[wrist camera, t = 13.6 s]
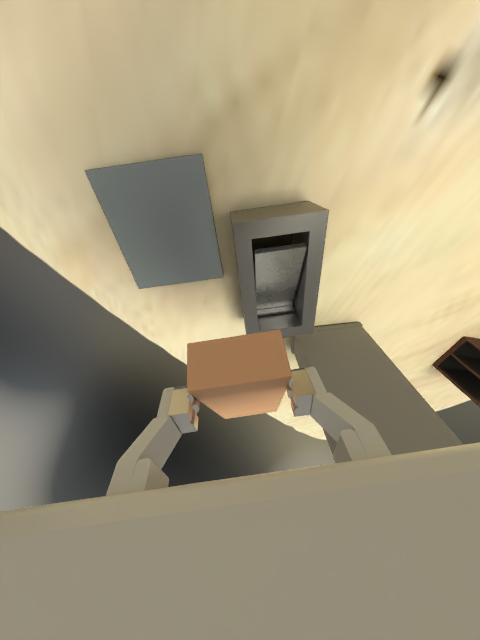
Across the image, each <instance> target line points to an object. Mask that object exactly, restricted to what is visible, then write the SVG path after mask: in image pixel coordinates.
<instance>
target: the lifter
mask: <svg viewBox="0 0 480 640" xmlns="http://www.w3.org/2000/svg"><path fill="white" fill-rule="evenodd" d="M306 248H307V246H306V244H305V243H299V244H292V245H284V246H277V247H270V248H263V249H256V250H254V262H255V292H256V304H257V309H260V310H257V316H263V315H270V314H278V313H285V312H292V311H294V308H293V301H294V297H295V293H296V289H297V285H298V281H299V277H300V272H301V268H302V264H303V260H304V256H305V252H306ZM287 305H289V306H287ZM279 306H282V307H279ZM272 307H274V308H272ZM265 308H267V309H265Z"/></svg>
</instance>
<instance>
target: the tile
mask: <svg viewBox="0 0 480 640" xmlns="http://www.w3.org/2000/svg"><path fill="white" fill-rule="evenodd" d="M291 378H292V373H291V369H290V365H289V362H288V358H287V354H286V350H285V346H284V342H283V338H282V334H281V330H274V331H268V332H261V333H255V334H248V335H241V336H235V337H228V338H222V339H215V340H209V341H202V342H195V343H189V344H187V392H188V393H190V394H191V395H192V396H194V397H195V398H197V399H198V400H199V401H201V402H202V403H204V404H205V405H206V406H208V407H209V408H211V409H212V410H213V411H215V412H216V413H218V414H219V415H220V416H222V417H224V418H225V419H227V418H233V417H240V416H247V415H254V414H261V413H268V412H275V411H277V409H278V407H279V405H280V402H281V400H282V398H283V396H284V393H285V391H286V387H287V385H288V382H289V381H290V380H291Z"/></svg>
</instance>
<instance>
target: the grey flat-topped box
mask: <svg viewBox="0 0 480 640" xmlns="http://www.w3.org/2000/svg"><path fill="white" fill-rule="evenodd" d="M291 351H292V353H294V355H295V357H296V360H297V362H298V365H299V368H307V367H315V368H316V371H317V373H318V375H319V377H320V379H321V381H322V383H323V385H324V387H325V389H326V391H327V393H331V394H333V395H334V396H335V397H337V398H338V399H340V400H341V401H342V402H344V403H345V404H346V405H348V406H349V407H351V408H352V409H353V410H355V411H356V412H357V413H359V414H360V415H361V416H363V417H364V418H366V419H367V420H368V421H370V422H371V423H372V424H374V426H375V427H376V429H377V431H378V432H379V434H380V436H381V437H382V439H383V441H384V442H385V444H386V446H387V448H388V449H389V451H390V453H391V454H392V455H397V454H404V453H411V452H418V451H425V450H432V449H439V448H446V447H453V446H460V445H463V444H462V443H461V442H460V440H459V439H458V438H457V437H456V436H455V435H454V433H453V432H452V431H451V430H450V429H449V428H448V426H447V425H446V424H445V423H444V422H443V420H442V419H441V418H440V417H439V416H438V415H437V414H436V413H435V411H434V410H433V409H432V408H431V406H430V405H429V404H428V403H427V402H426V401H425V399H424V398H423V397H422V396H421V395H420V394H419V392H418V391H417V390H416V389H415V388H414V387H413V385H412V384H411V383H410V382H409V381H408V380H407V378H406V377H405V376H404V375H403V374H402V373H401V371H400V370H399V369H398V368H397V367H396V366H395V364H394V363H393V362H392V361H391V360H390V359H389V357H388V356H387V355H386V354H385V353H384V352H383V350H382V349H381V348H380V347H379V346H378V345H377V343H376V342H375V341H374V340H373V339H372V338H371V336H370V335H369V334H368V333H367V332H366V331H365V329H364V328H363V327H362V324H361V323H360V322H355V323H346V324H337V325H328V326H319V327H314V330H313V334H306V335H299V336H292V343H291ZM323 430H324V429H323ZM324 433H325V436H326V438H327V441H328V443H329V446H330V449H331V451H332V454H333V452H334V450H335V447H336V444H337V442H336V441H335V440H334V439H333V438H332V437H331V436H330V435H329V434H328V433H327V432H326V431H325V430H324Z"/></svg>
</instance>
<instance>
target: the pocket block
mask: <svg viewBox="0 0 480 640" xmlns="http://www.w3.org/2000/svg"><path fill="white" fill-rule="evenodd" d="M230 214H231V222H232V229H233V237H234V245H235V253H236V261H237V268H238V276H239V284H240V292H241V300H242V307H243V315H244V322H245V329H246V335H248V334H255V333H261V332H268V331H274V330H281V334H282V338H284V337H291V336H299V335H306V334H313V330H314V322H315V314H316V307H317V299H318V291H319V283H320V276H321V268H322V260H323V252H324V245H325V237H326V229H327V222H328V214H329V210H328V209H325V208H323V207H321V206H319V205H316V204H314V203H312V202H310V201H304V202H297V203H290V204H283V205H276V206H269V207H261V208H254V209H247V210H240V211H233V212H230ZM292 233H293V244H299V243H305V244H306V246H307V248H306V252H305V256H304V260H303V264H302V268H301V272H300V277H299V281H298V285H297V289H296V293H295V297H294V301H293V308H294V311H292V312H285V313H278V314H270V315H263V316H257V310H260V309H257V304H256V292H255V279H254V266H253V253H252V241H251V239H256V238H264V237H271V236H278V235H285V234H292ZM287 306H289V305H287ZM279 307H282V306H279ZM272 308H274V307H272ZM265 309H267V308H265Z"/></svg>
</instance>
